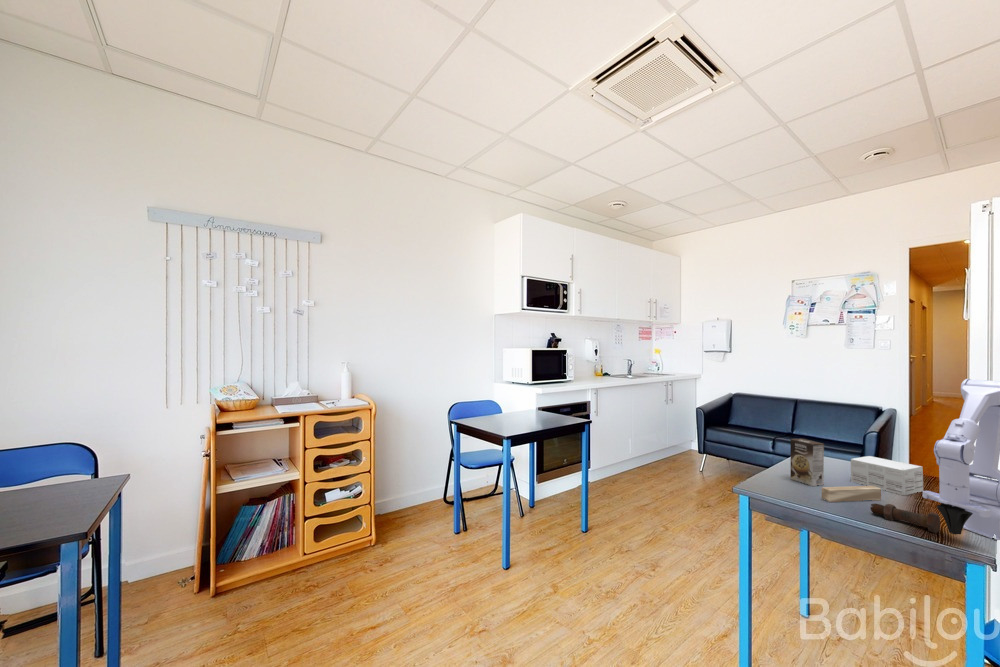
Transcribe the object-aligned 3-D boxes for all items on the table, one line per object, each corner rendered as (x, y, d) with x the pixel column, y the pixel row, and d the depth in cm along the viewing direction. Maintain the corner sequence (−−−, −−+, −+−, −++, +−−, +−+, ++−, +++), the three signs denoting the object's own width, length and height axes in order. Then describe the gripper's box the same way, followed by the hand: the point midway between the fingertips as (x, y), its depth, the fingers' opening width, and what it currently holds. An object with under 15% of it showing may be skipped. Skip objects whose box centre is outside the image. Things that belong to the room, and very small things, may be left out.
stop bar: (881, 500, 147) (880, 488, 147) (829, 502, 144) (829, 490, 145) (872, 496, 150) (872, 485, 150) (821, 498, 147) (821, 487, 148)
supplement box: (924, 491, 156) (923, 466, 156) (904, 496, 151) (904, 470, 151) (869, 478, 172) (869, 454, 172) (850, 481, 167) (850, 458, 167)
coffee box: (789, 479, 169) (789, 438, 169) (801, 477, 171) (801, 437, 171) (812, 486, 160) (812, 444, 161) (824, 485, 162) (824, 442, 162)
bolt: (873, 519, 135) (939, 536, 122) (867, 514, 133) (933, 530, 120) (876, 501, 137) (941, 516, 124) (870, 496, 135) (935, 510, 122)
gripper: (913, 476, 124) (913, 522, 124) (973, 493, 110) (974, 546, 109) (934, 475, 125) (934, 521, 124) (997, 492, 110) (998, 545, 110)
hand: (954, 533), depth 117 cm, fingers closed
